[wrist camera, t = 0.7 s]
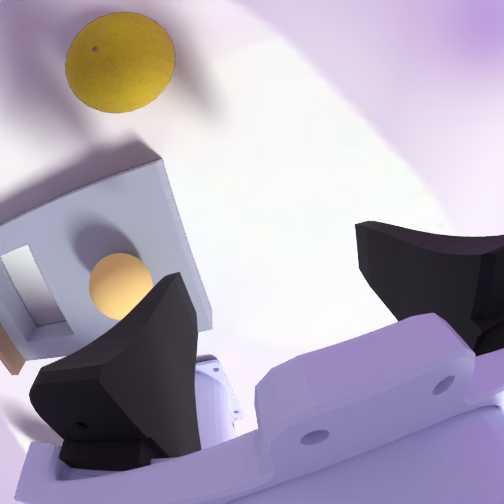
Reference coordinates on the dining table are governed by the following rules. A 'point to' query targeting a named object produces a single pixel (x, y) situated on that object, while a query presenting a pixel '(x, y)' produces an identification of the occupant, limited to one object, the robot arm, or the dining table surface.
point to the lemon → (120, 62)
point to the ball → (119, 284)
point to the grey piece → (92, 258)
